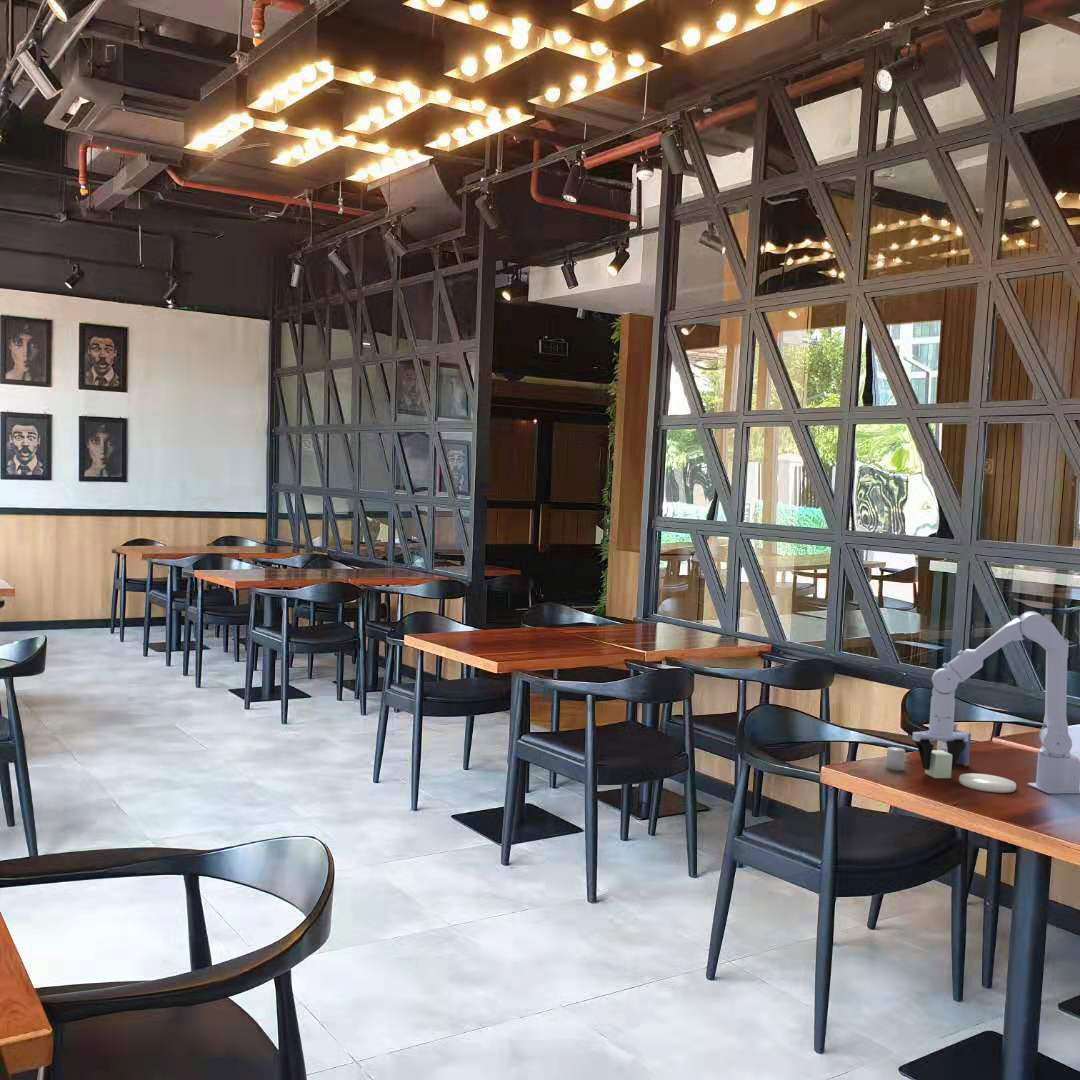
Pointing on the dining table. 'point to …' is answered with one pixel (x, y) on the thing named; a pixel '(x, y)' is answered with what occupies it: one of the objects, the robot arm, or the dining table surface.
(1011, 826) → the dining table surface
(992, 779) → the plate
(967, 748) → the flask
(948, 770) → the sage block
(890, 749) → the white rounded domed part
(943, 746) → the salt shaker
